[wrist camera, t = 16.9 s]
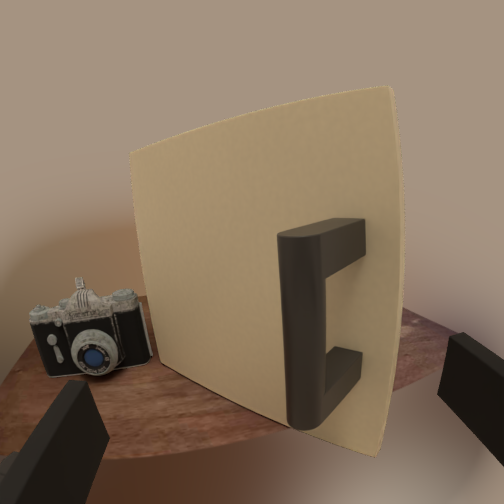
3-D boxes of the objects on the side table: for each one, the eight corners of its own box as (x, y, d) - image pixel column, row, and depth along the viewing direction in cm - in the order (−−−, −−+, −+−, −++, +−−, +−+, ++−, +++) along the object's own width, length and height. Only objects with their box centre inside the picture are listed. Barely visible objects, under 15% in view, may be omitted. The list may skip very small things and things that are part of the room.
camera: (39, 391, 28) (10, 311, 26) (49, 364, 34) (28, 293, 32) (156, 376, 33) (137, 292, 31) (151, 350, 39) (137, 276, 37)
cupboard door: (333, 515, 14) (337, 45, 9) (118, 381, 32) (76, 156, 27) (380, 449, 19) (393, 89, 14) (167, 359, 37) (136, 152, 32)
